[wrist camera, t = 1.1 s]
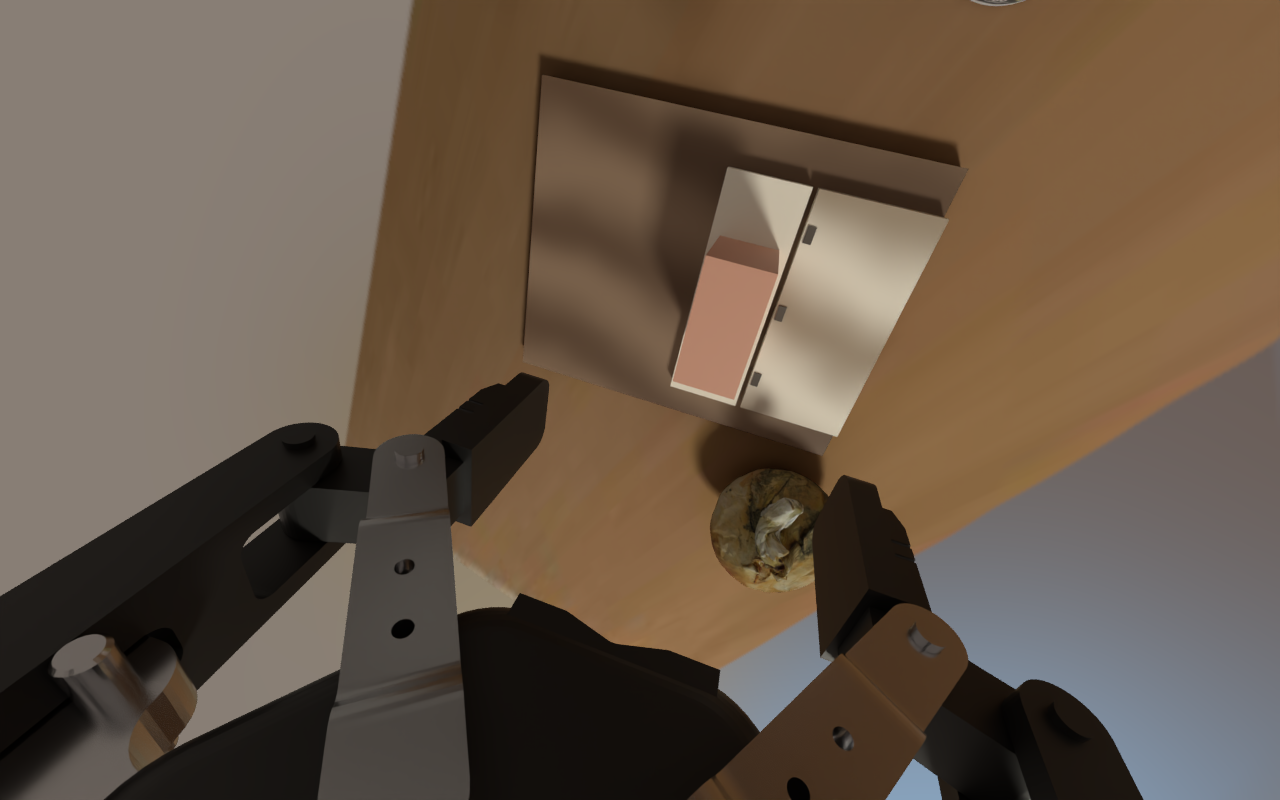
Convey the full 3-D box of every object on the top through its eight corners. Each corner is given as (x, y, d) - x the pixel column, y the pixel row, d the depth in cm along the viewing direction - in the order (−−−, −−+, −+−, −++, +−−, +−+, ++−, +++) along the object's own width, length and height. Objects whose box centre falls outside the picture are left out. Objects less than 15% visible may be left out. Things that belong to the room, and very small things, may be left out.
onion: (693, 474, 33) (669, 559, 26) (798, 429, 29) (802, 515, 22) (750, 549, 35) (741, 647, 28) (856, 515, 31) (875, 619, 24)
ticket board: (550, 76, 23) (533, 72, 22) (961, 167, 21) (975, 169, 19) (529, 356, 32) (516, 367, 30) (821, 446, 29) (823, 464, 27)
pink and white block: (729, 166, 22) (713, 172, 17) (812, 186, 22) (819, 197, 17) (672, 380, 28) (650, 428, 24) (736, 399, 28) (726, 453, 23)
